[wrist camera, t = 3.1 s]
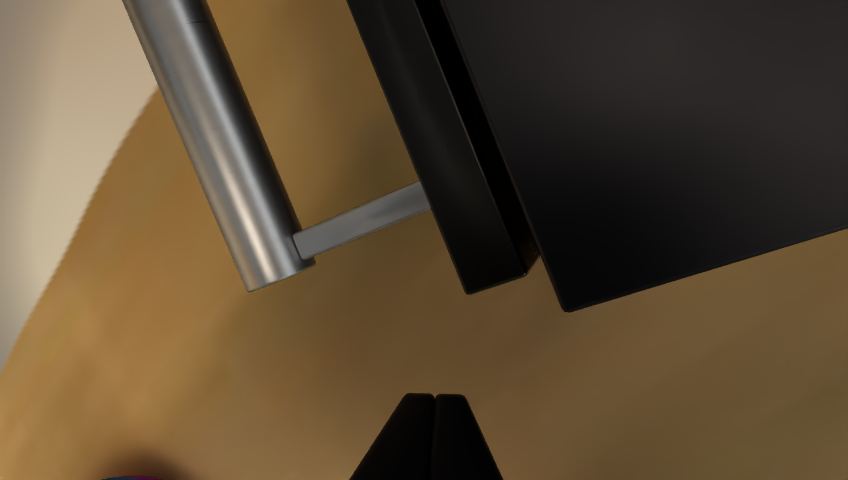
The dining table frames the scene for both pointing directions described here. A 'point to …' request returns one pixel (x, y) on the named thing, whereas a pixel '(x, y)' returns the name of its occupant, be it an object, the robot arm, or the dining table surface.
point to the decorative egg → (132, 478)
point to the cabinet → (662, 130)
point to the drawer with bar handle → (414, 115)
